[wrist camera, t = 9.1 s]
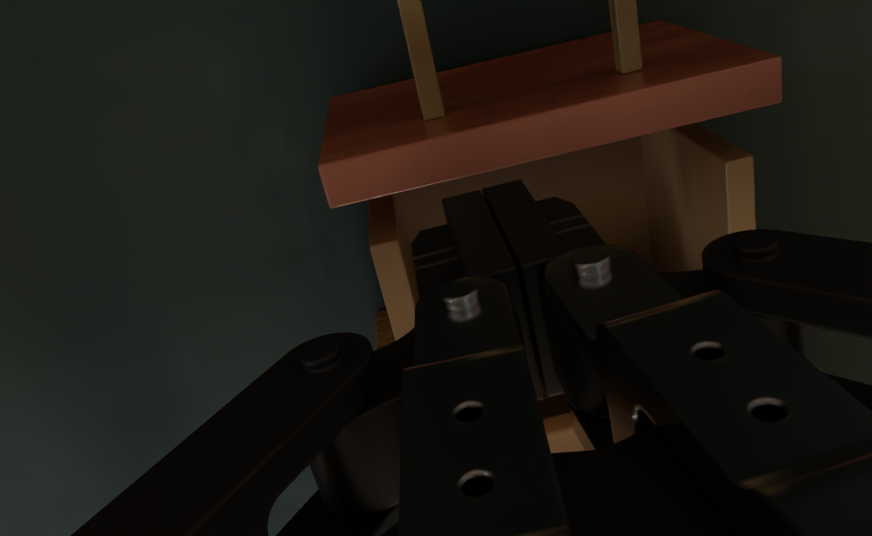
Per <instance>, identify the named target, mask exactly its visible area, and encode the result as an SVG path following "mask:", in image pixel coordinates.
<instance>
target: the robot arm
mask: <svg viewBox="0 0 872 536" xmlns="http://www.w3.org/2000/svg"><path fill="white" fill-rule="evenodd" d="M482 194H483V196H482ZM482 194H481V192H480V190H476V191H472V192H468V193H464V194H460V195H456V196H452V197H448V198H444V199H441V200H442V205H443V210H444V214H445V218H446V222H447V224H445V225H441V226H437V227H433V228H429V229H425V230H421V231H419V233H418V235H417V236H416V238H415V239H414V241H413V242H412V244H411V249H412V254H413V259H414V266H415V271H416V277H417V282H418V288H419V293H420V299H419V300H418V301H417V303H416V305H415V327H414V328H413V329H412V330H411V331H410V332H408V333H407V334H406V335H404V336H403V337H401V338H400V339H398V340H396V341H394V342H392V343H390V344H388V345H386V346H384V347H382V348H380V349H377V350H375V351H373V349H372V346H371V343H370V342H369V340H368V339H367V338H365V337H364V336H362V335H359V334H355V333H346V332H345V333H333V334H328V335H323V336H320V337H317V338H314V339H311V340H309V341H306V342H304V343H302V344H300V345H299V346H297V347H295V348H294V349H292V350H291V351H289V352H288V353H287V354H286V355H284V356H283V357H282V358H281V359H280V360H278V361H277V362H276V363H275V364H274V365H273V366H271V367H270V368H269V369H268V370H267V371H265V372H264V373H263V374H262V375H261V376H260V377H258V378H257V379H256V380H255V381H254V382H252V383H251V384H250V385H249V386H248V387H246V388H245V389H244V390H243V391H242V392H241V393H239V394H238V395H237V396H236V397H235V398H233V399H232V400H231V401H230V402H229V403H227V404H226V405H225V406H224V407H223V408H222V409H220V410H219V411H218V412H217V413H216V414H214V415H213V416H212V417H211V418H210V419H209V420H207V421H206V422H205V423H204V424H203V425H201V426H200V427H199V428H198V429H197V430H195V431H194V432H193V433H192V434H191V435H190V436H188V437H187V438H186V439H185V440H184V441H182V442H181V443H180V444H179V445H178V446H177V447H175V448H174V449H173V450H172V451H171V452H169V453H168V454H167V455H166V456H165V457H163V458H162V459H161V460H160V461H159V462H158V463H156V464H155V465H154V466H153V467H152V468H150V469H149V470H148V471H147V472H146V473H144V474H143V475H142V476H141V477H140V478H139V479H137V480H136V481H135V482H134V483H133V484H131V485H130V486H129V487H128V488H127V489H126V490H124V491H123V492H122V493H121V494H120V495H118V496H117V497H116V498H115V499H114V500H112V501H111V502H110V503H109V504H108V505H107V506H105V507H104V508H103V509H102V510H101V511H99V512H98V513H97V514H96V515H95V516H94V517H92V518H91V519H90V520H89V521H88V522H86V523H85V524H84V525H83V526H82V527H80V528H79V529H78V530H77V531H76V532H75V533H73V534H72V535H71V536H268V529H267V524H268V518H269V514H270V511H271V508H272V506H273V504H274V502H275V501H276V499H277V498H278V496H279V495H280V494H281V493H282V492H283V491H284V490H285V489H286V488H287V487H288V486H289V485H290V484H291V482H292V481H293V480H294V479H295V478H296V477H297V476H298V475H299V474H300V473H301V472H302V471H303V470H304V469H305V468H306V467H307V466H308V465H310V468H311V470H312V473H313V475H314V478H315V481H316V483H317V486H318V488H319V489H318V490H317V491H316V493H315V494H314V495H313V496H312V497H311V498H310V499H309V500H308V501H307V502H306V503H305V504H304V506H303V507H302V508H301V509H300V510H299V511H298V512H297V513H296V514H295V515H294V516H293V518H292V519H291V520H290V521H289V522H288V523H287V524H286V525H285V526H284V527H283V528H282V530H281V531H280V532H279V533H278V534H277V535H276V536H872V386H871V385H868V384H864V383H860V382H856V381H852V380H848V379H845V378H841V377H837V376H833V375H829V374H826V373H824V372H822V371H821V370H820V369H819V368H818V367H816V366H815V350H814V327H816V328H821V329H825V330H830V331H835V332H839V333H844V334H848V335H853V336H857V337H862V338H866V339H871V340H872V243H868V242H861V241H853V240H846V239H839V238H831V237H824V236H817V235H809V234H802V233H795V232H787V231H780V230H770V229H756V230H745V231H739V232H734V233H730V234H727V235H724V236H721V237H719V238H717V239H715V240H713V241H712V242H710V243H709V244H708V245H707V246H706V247H705V248H704V250H703V251H702V266H703V270H691V271H679V272H657V271H656V270H655V269H653V268H652V267H651V266H650V265H649V264H648V263H647V262H646V261H645V260H644V259H642V258H641V257H640V256H639V255H638V254H637V253H635V252H634V251H633V250H630V249H628V248H625V247H622V246H616V245H607V244H606V243H605V242H604V241H603V239H602V238H601V237H600V236H599V234H598V233H597V232H596V231H595V229H594V228H593V227H592V226H590V223H589V222H588V221H587V219H586V218H585V217H583V214H582V213H581V212H580V211H579V209H578V208H577V207H576V205H575V204H574V203H572V202H569V201H566V200H563V199H560V198H558V197H551V198H547V199H543V200H539V201H535V200H534V198H533V197H532V195H531V194H530V192H529V191H528V189H527V188H526V186H525V185H524V183H523V182H522V180H521V179H519V180H515V181H511V182H507V183H503V184H499V185H495V186H491V187H487V188H483V189H482ZM539 378H540V379H539ZM540 380H541V383H542V385H543V388H544V390H545V393H546V395H547V397H548V398H549V397H552V396H556V395H560V394H564V393H565V395H566V397H567V401H568V406H569V411H570V417H571V422H572V427H573V429H574V431H575V433H576V435H577V437H578V438H579V440H580V442H581V444H582V445H583V447H584V449H585V451H574V452H560V453H551V451H550V447H549V443H548V439H547V435H546V431H545V427H544V423H543V419H542V415H541V411H540V407H539V403H538V400H541V399H543V394H542V389H541V384H540Z"/></svg>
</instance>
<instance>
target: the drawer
mask: <svg viewBox="0 0 872 536" xmlns="http://www.w3.org/2000/svg"><path fill="white" fill-rule="evenodd" d="M608 2H609V11H610V20H611V29H612V31H611V32H607V33H603V34H598V35H594V36H590V37H586V38H581V39H577V40H573V41H569V42H565V43H560V44H556V45H552V46H548V47H543V48H539V49H535V50H531V51H527V52H522V53H518V54H514V55H510V56H505V57H501V58H497V59H493V60H489V61H484V62H480V63H476V64H472V65H467V66H463V67H459V68H455V69H451V70H446V71H442V72H438V73H436V68H435V64H434V59H433V54H432V49H431V45H430V40H429V35H428V30H427V26H426V21H425V16H424V11H423V7H422V2H421V0H397V5H398V9H399V14H400V18H401V23H402V27H403V31H404V36H405V40H406V45H407V49H408V54H409V58H410V63H411V67H412V71H413V76H414V78H412V79H408V80H404V81H400V82H396V83H391V84H387V85H383V86H379V87H374V88H370V89H366V90H362V91H358V92H353V93H349V94H345V95H341V96H336V97H332V98H330V102H329V107H328V113H327V118H326V124H325V130H324V135H323V141H322V146H321V152H320V158H319V163H318V171H319V174H320V177H321V181H322V184H323V188H324V191H325V194H326V198H327V201H328V205H329V207H330V208H336V207H341V206H345V205H349V204H353V203H358V202H362V201H366V200H368V216H369V248H370V251H371V255H372V259H373V262H374V266H375V270H376V273H377V277H378V280H379V284H380V288H381V291H382V295H383V298H384V302H385V306H386V309H387V313H388V316H389V320H390V324H391V327H392V331H393V335H394V338H395V341H396V340H398V339H400V338H401V337H403V336H404V335H406V334H407V333H408V332H410V331H411V330H412V329H413V328H414V327H415V305H416V303H417V301H418V300H419V299H420V293H419V288H418V282H417V277H416V271H415V266H414V259H413V254H412V249H411V244H412V242H413V241H414V239H415V238H416V236H417V235H418V233H419V231H421V230H425V229H429V228H433V227H437V226H441V225H445V224H447V222H446V218H445V214H444V210H443V205H442V200H441V199H444V198H448V197H452V196H456V195H460V194H464V193H468V192H472V191H476V190H480V192H481V194H482V189H483V188H487V187H491V186H495V185H499V184H503V183H507V182H511V181H515V180H519V179H521V180H522V182H523V183H524V185H525V186H526V188H527V189H528V191H529V192H530V194H531V195H532V197H533V198H534V200H535V201H539V200H543V199H547V198H551V197H558V198H560V199H563V200H566V201H569V202H572V203H574V204H575V205H576V207H577V208H578V209H579V211H580V212H581V213H582V214H583V217H585V218H586V219H587V221H588V222H589V223H590V226H592V227H593V228H594V229H595V231H596V232H597V233H598V234H599V236H600V237H601V238H602V239H603V241H604V242H605V243H606V244H607V245H616V246H622V247H625V248H628V249H630V250H633V251H634V252H635V253H637V254H638V255H639V256H640V257H641V258H642V259H644V260H645V261H646V262H647V263H648V264H649V265H650V266H651V267H652V268H653V269H655V270H656V271H657V272H679V271H691V270H703V266H702V251H703V250H704V248H705V247H706V246H707V245H708V244H709V243H710V242H712V241H713V240H715V239H717V238H719V237H721V236H724V235H727V234H730V233H734V232H739V231H745V230H756V219H755V188H754V158H753V156H752V155H750V154H749V153H747V152H745V151H744V150H742V149H740V148H738V147H737V146H735V145H733V144H731V143H730V142H728V141H726V140H725V139H723V138H721V137H719V136H718V135H716V134H714V133H712V132H711V131H709V130H707V129H706V128H704V127H702V126H700V125H699V124H697V122H701V121H705V120H709V119H713V118H718V117H722V116H726V115H730V114H735V113H739V112H743V111H747V110H752V109H756V108H760V107H764V106H769V105H773V104H777V103H780V102H782V59H781V56H777V55H774V54H771V53H767V52H764V51H761V50H757V49H754V48H751V47H748V46H744V45H741V44H738V43H734V42H731V41H728V40H725V39H721V38H718V37H715V36H711V35H708V34H705V33H702V32H698V31H695V30H692V29H688V28H685V27H682V26H678V25H675V24H672V23H669V22H665V21H662V20H657V21H653V22H649V23H645V24H641V25H639V23H638V13H637V2H636V0H608ZM482 196H483V194H482ZM539 379H540V378H539ZM540 384H541V389H542V394H543V399H541V400H538V403H539V407H540V411H541V415H542V419H544V418H548V417H553V416H557V415H561V414H565V413H570V411H569V406H568V401H567V397H566V395H565V393H564V394H560V395H556V396H552V397H549V398H548V397H547V395H546V393H545V390H544V388H543V385H542V383H541V380H540Z"/></svg>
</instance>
